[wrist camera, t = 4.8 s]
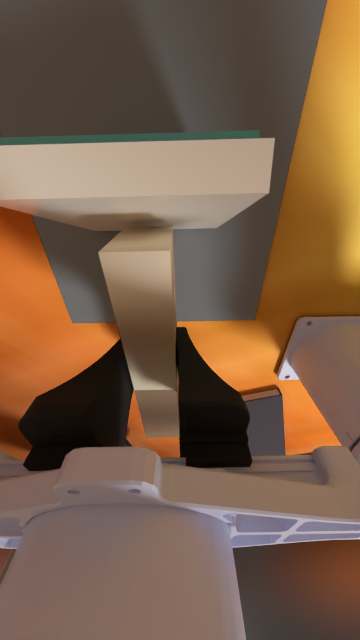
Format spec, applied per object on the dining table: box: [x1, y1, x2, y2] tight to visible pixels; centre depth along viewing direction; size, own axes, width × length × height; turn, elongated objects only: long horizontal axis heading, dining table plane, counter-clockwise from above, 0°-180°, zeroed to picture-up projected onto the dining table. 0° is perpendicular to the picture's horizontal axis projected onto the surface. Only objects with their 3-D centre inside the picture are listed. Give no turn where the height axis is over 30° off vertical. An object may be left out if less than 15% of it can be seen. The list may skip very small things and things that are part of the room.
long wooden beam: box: [98, 225, 179, 437], centre depth 13 cm, size 14×2×4 cm, turn 1°
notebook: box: [242, 388, 285, 456], centre depth 30 cm, size 13×2×21 cm
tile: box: [0, 130, 275, 231], centre depth 9 cm, size 2×8×8 cm, turn 92°
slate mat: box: [0, 0, 327, 323], centre depth 13 cm, size 16×18×1 cm
